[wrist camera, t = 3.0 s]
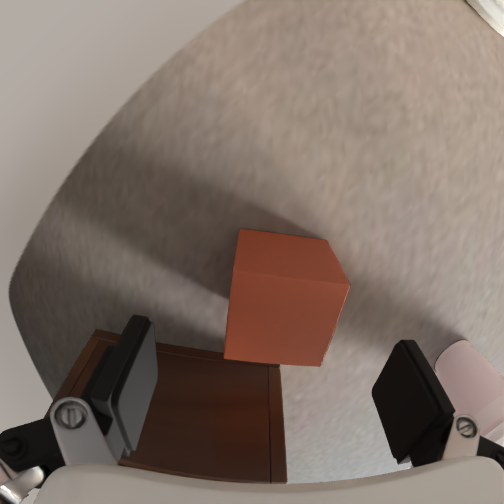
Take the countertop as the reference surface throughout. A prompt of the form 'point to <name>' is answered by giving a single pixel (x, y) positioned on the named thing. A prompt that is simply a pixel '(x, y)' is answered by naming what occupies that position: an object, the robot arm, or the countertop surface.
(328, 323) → the block
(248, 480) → the chest
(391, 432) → the robot arm
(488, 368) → the smoothie
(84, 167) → the countertop surface
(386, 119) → the countertop surface
